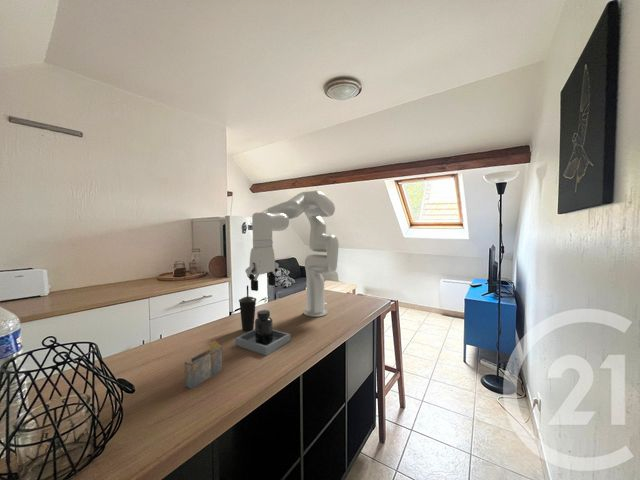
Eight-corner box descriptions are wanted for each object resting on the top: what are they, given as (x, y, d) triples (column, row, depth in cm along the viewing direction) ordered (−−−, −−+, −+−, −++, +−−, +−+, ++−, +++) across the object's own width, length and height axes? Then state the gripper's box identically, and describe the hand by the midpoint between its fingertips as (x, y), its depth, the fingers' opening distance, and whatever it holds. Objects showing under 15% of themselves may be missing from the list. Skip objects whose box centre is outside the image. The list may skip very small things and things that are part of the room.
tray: (261, 333, 113) (261, 326, 113) (290, 341, 105) (290, 333, 105) (235, 345, 101) (235, 337, 101) (266, 355, 93) (266, 347, 93)
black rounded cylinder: (252, 333, 113) (251, 287, 112) (235, 332, 114) (235, 287, 113) (259, 327, 120) (259, 284, 119) (244, 325, 122) (243, 283, 121)
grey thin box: (215, 368, 85) (214, 339, 85) (222, 370, 84) (221, 341, 84) (184, 387, 75) (183, 354, 75) (191, 390, 74) (190, 356, 73)
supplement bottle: (266, 336, 108) (266, 307, 107) (276, 341, 103) (276, 311, 102) (251, 341, 103) (251, 311, 103) (261, 347, 98) (260, 315, 98)
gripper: (270, 242, 111) (271, 282, 112) (238, 245, 96) (239, 291, 97) (284, 243, 107) (284, 284, 108) (253, 246, 92) (254, 294, 93)
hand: (263, 287), depth 102 cm, fingers open, 9 cm apart
